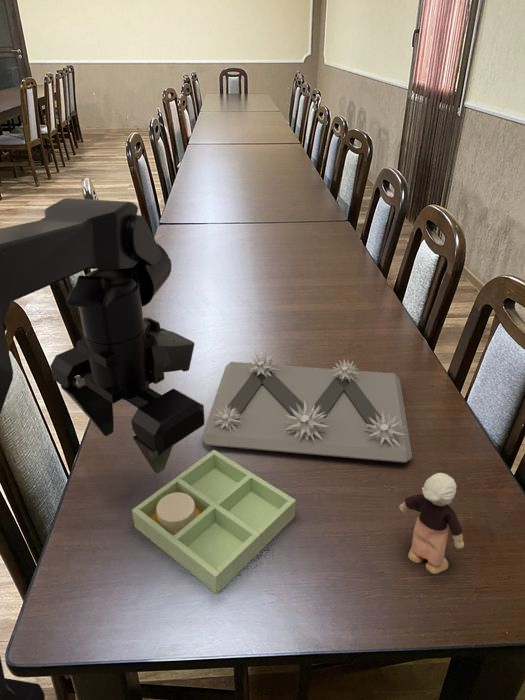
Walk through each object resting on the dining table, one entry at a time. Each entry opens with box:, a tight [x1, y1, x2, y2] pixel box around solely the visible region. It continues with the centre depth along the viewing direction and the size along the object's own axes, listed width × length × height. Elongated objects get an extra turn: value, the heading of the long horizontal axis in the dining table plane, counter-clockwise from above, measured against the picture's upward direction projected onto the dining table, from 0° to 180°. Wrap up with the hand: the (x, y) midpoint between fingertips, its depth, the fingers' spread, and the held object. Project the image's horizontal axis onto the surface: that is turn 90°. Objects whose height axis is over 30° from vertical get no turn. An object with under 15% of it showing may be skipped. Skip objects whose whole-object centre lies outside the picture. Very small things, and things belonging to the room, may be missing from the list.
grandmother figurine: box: [398, 472, 465, 575], centre depth 59 cm, size 8×4×13 cm, turn 58°
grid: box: [131, 449, 297, 595], centre depth 66 cm, size 14×14×3 cm
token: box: [156, 492, 196, 535], centre depth 65 cm, size 5×5×2 cm
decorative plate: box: [200, 351, 413, 464], centre depth 83 cm, size 30×22×7 cm
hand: (133, 451), depth 60 cm, fingers open, 9 cm apart
